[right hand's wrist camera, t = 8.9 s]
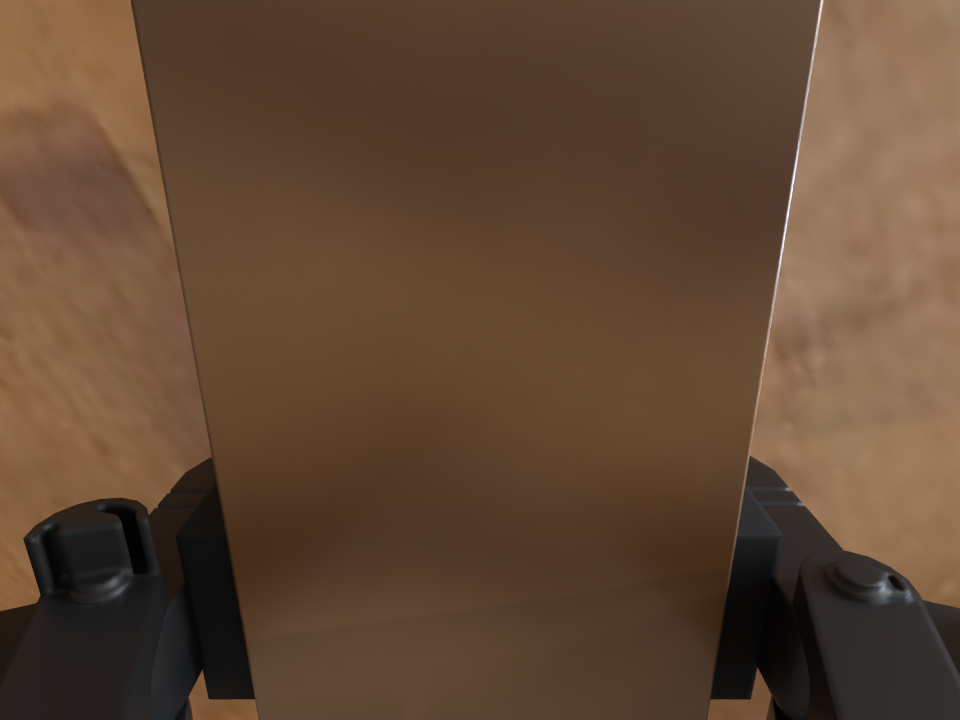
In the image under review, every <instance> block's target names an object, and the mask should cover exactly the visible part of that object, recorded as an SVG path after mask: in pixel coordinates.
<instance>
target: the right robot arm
mask: <svg viewBox="0 0 960 720" xmlns="http://www.w3.org/2000/svg"><path fill="white" fill-rule="evenodd" d="M23 539H24V542H25V546H26V549H27V552H28V555H29V558H30V562H31V565H32V568H33V571H34V575H35V578H36V581H37V584H38V588H39V591H40V594H41V596H40V598H39V600H38V602H37V603H35V604H31V605H28V606H23V607H18V608H13V609H9V610H4V611H0V720H193V718H192V710H191V706H190V701H189V697H188V696H189V694H190V692H191V691H192V689H193V687H194V685H195V683H196V681H197V679H198V677H199V675H200V673H201V671H202V669H203V673H204V678H205V683H206V688H207V693H208V698H209V699H255V695H254V689H253V683H252V678H251V672H250V666H249V661H248V655H247V650H246V644H245V638H244V633H243V627H242V622H241V616H240V610H239V605H238V599H237V594H236V588H235V582H234V577H233V571H232V566H231V560H230V554H229V549H228V543H227V537H226V532H225V526H224V521H223V515H222V509H221V504H220V498H219V493H218V487H217V481H216V476H215V470H214V465H213V459H212V458H209V459H207V460H205V461H204V462H202V463H201V464H199V465H197V466H196V467H194V468H192V469H191V470H189V471H187V472H186V473H185V474H184V475H183V476H182V477H181V479H180V480H179V481H178V482H177V483H176V484H175V486H174V487H173V488H172V489H171V493H170V494H167V495H166V496H165V497H164V498H163V500H162V501H161V502H160V503H159V504H158V508H155V509H154V510H153V511H152V512H151V513H150V515H148V511H147V508H146V507H145V506H144V505H142V504H141V503H140V502H138V501H136V500H131V499H125V498H109V499H99V500H94V501H90V502H86V503H81V504H77V505H75V506H72V507H70V508H67V509H65V510H62V511H60V512H57V513H55V514H53V515H52V516H50V517H48V518H47V519H45V520H44V521H42V522H40V523H39V524H37V525H36V526H35V527H34V528H33V529H32V530H31V531H30V532H29V533H28V534H27V535H26V536H25V537H24V538H23ZM757 667H758V669H759V671H760V673H761V675H762V677H763V679H764V680H765V682H766V684H767V686H768V688H769V690H770V692H771V694H772V697H771V701H770V706H769V710H768V715H767V719H766V720H960V608H955V607H951V606H946V605H941V604H936V603H932V602H928V601H924V600H922V599H921V596H920V594H919V593H918V592H917V591H916V589H915V588H914V587H913V586H912V584H911V583H910V582H909V581H908V580H907V579H906V578H905V577H903V576H902V575H901V574H899V573H898V572H896V571H895V570H894V569H892V568H891V567H889V566H887V565H885V564H883V563H881V562H878V561H876V560H874V559H872V558H870V557H867V556H863V555H860V554H856V553H852V552H848V551H844V550H843V549H842V548H841V547H840V546H839V545H838V544H837V542H836V541H835V540H834V539H833V538H832V537H831V535H830V534H829V533H828V532H827V531H826V530H825V529H824V527H823V526H822V525H821V524H820V523H819V522H818V520H817V519H816V518H815V517H814V516H813V515H812V514H811V512H810V511H809V510H808V509H807V508H806V507H805V506H802V502H801V501H800V500H799V499H798V497H797V496H796V495H795V494H794V493H793V492H792V491H789V487H788V486H787V485H786V484H785V482H784V481H783V480H782V479H781V478H780V477H779V475H778V474H777V473H776V472H775V471H774V470H773V469H771V468H769V467H768V466H766V465H764V464H763V463H761V462H759V461H758V460H756V459H755V458H753V457H751V456H750V457H749V464H748V470H747V476H746V482H745V488H744V495H743V501H742V507H741V513H740V519H739V525H738V532H737V538H736V544H735V550H734V556H733V562H732V569H731V575H730V581H729V587H728V593H727V599H726V606H725V612H724V618H723V624H722V630H721V637H720V643H719V649H718V655H717V661H716V667H715V674H714V680H713V686H712V692H711V698H710V699H751V695H752V690H753V685H754V681H755V676H756V671H757Z"/></svg>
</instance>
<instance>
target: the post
mask: <svg viewBox="0 0 960 720" xmlns="http://www.w3.org/2000/svg"><path fill="white" fill-rule="evenodd" d="M823 1H824V0H131V5H132V10H133V16H134V22H135V27H136V33H137V38H138V44H139V50H140V55H141V61H142V66H143V72H144V78H145V83H146V89H147V94H148V100H149V106H150V111H151V117H152V122H153V128H154V134H155V139H156V145H157V151H158V156H159V162H160V167H161V173H162V179H163V184H164V190H165V195H166V201H167V207H168V212H169V218H170V223H171V229H172V235H173V240H174V246H175V251H176V257H177V263H178V268H179V274H180V280H181V285H182V291H183V296H184V302H185V308H186V313H187V319H188V324H189V330H190V336H191V341H192V347H193V352H194V358H195V364H196V369H197V375H198V380H199V386H200V392H201V397H202V403H203V409H204V414H205V420H206V425H207V431H208V437H209V442H210V448H211V453H212V459H213V465H214V470H215V476H216V481H217V487H218V493H219V498H220V504H221V509H222V515H223V521H224V526H225V532H226V537H227V543H228V549H229V554H230V560H231V566H232V571H233V577H234V582H235V588H236V594H237V599H238V605H239V610H240V616H241V622H242V627H243V633H244V638H245V644H246V650H247V655H248V661H249V666H250V672H251V678H252V683H253V689H254V695H255V700H256V706H257V711H258V717H259V720H707V717H708V711H709V704H710V698H711V692H712V686H713V680H714V674H715V667H716V661H717V655H718V649H719V643H720V637H721V630H722V624H723V618H724V612H725V606H726V599H727V593H728V587H729V581H730V575H731V569H732V562H733V556H734V550H735V544H736V538H737V532H738V525H739V519H740V513H741V507H742V501H743V495H744V488H745V482H746V476H747V470H748V464H749V457H750V451H751V445H752V439H753V433H754V427H755V420H756V414H757V408H758V402H759V396H760V390H761V383H762V377H763V371H764V365H765V359H766V353H767V346H768V340H769V334H770V328H771V322H772V315H773V309H774V303H775V297H776V291H777V285H778V278H779V272H780V266H781V260H782V254H783V248H784V241H785V235H786V229H787V223H788V217H789V210H790V204H791V198H792V192H793V186H794V180H795V173H796V167H797V161H798V155H799V149H800V143H801V136H802V130H803V124H804V118H805V112H806V106H807V99H808V93H809V87H810V81H811V75H812V68H813V62H814V56H815V50H816V44H817V38H818V31H819V25H820V19H821V13H822V7H823Z"/></svg>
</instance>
